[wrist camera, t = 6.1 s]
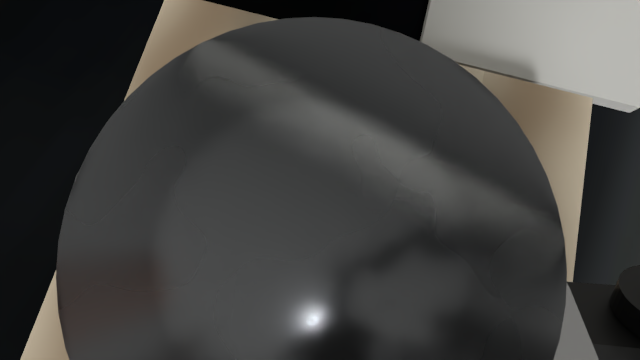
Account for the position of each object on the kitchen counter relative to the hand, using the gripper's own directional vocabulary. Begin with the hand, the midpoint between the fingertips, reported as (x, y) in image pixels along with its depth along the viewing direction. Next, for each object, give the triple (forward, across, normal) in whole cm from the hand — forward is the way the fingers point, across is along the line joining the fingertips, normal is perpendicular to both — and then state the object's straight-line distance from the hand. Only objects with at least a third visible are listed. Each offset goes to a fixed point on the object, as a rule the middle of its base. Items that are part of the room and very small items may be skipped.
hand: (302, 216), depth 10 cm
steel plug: (+3, 0, +5) cm, 6 cm away
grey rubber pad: (+11, -13, -2) cm, 17 cm away
